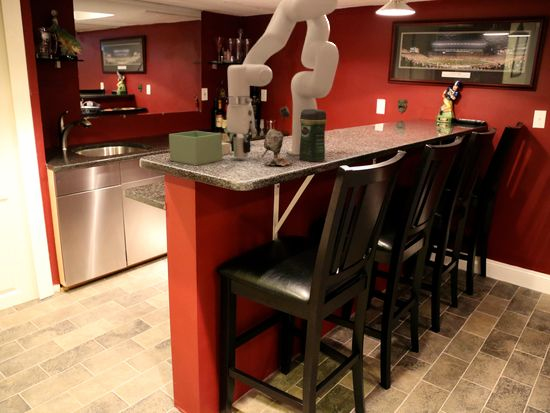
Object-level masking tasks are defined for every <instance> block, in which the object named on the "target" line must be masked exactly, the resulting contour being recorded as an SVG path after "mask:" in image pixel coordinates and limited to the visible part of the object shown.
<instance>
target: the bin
mask: <svg viewBox="0 0 550 413" xmlns="http://www.w3.org/2000/svg"><path fill="white" fill-rule="evenodd" d="M168 142H169V160H170V161H171V162H175V163H181V164H188V165H193V166H199V165H205V164H208V163H209V164H210V163H213V162H219V161H223V155H222V142H223V134H222V133H219V132H218V133H217V132H208V131H201V130H191V131H184V132H177V133H169V134H168Z"/></svg>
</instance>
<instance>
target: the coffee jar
mask: <svg viewBox="0 0 550 413" xmlns="http://www.w3.org/2000/svg"><path fill="white" fill-rule="evenodd" d="M300 122H301V139H300V151H299V155H298V157H299V159H300V160H302V161H306V162H318V163H319V162H322V161H324V160H326V146H325V145H326V144H325V142H326V125H327V112H326V111H325V110H323V109H318V108H317V109H305V110H303V111H302V112H301V116H300Z"/></svg>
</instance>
